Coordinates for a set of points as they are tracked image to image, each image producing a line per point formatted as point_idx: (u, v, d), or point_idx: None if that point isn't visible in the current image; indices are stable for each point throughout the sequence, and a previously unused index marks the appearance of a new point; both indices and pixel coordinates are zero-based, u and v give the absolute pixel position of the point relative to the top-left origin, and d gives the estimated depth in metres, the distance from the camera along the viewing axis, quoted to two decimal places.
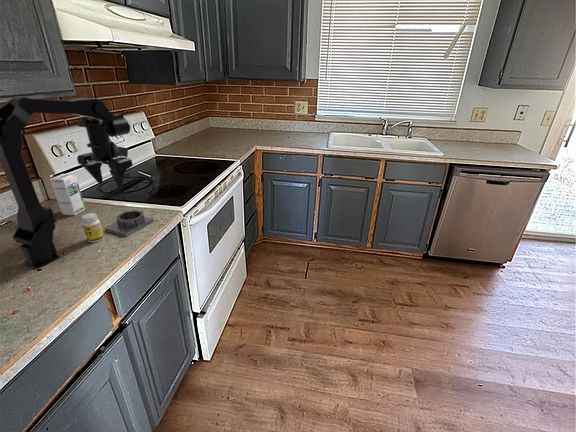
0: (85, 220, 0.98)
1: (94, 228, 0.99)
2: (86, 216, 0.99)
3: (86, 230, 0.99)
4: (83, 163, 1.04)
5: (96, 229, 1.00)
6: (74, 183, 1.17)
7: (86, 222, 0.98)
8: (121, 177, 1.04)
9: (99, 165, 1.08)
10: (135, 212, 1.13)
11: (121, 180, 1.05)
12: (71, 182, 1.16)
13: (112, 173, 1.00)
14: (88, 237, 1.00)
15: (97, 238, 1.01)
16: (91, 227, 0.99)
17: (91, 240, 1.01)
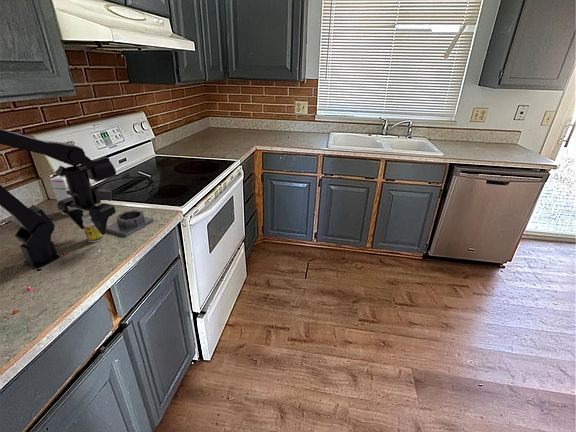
0: (85, 220, 0.98)
1: (94, 228, 0.99)
2: (86, 216, 0.99)
3: (86, 230, 0.99)
4: (63, 209, 0.98)
5: (96, 229, 1.00)
6: None
7: (86, 222, 0.98)
8: (104, 224, 0.98)
9: (81, 210, 1.02)
10: (135, 212, 1.13)
11: (104, 227, 0.99)
12: None
13: (94, 221, 0.95)
14: (88, 237, 1.00)
15: (97, 238, 1.01)
16: (91, 227, 0.99)
17: (91, 240, 1.01)
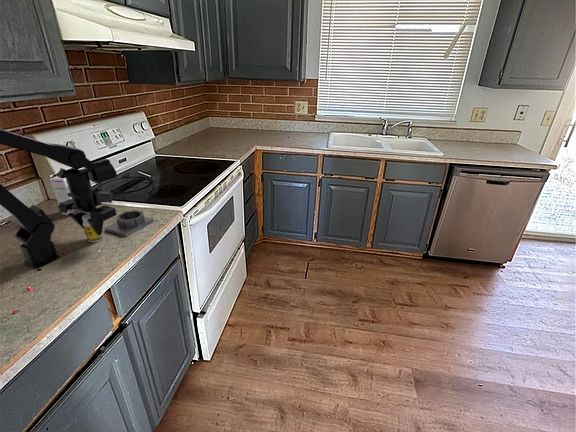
0: (85, 220, 0.98)
1: None
2: (86, 216, 0.99)
3: (86, 230, 0.99)
4: (64, 212, 0.98)
5: None
6: None
7: (86, 222, 0.98)
8: (100, 225, 0.99)
9: (86, 213, 1.02)
10: (135, 212, 1.13)
11: (100, 228, 1.00)
12: None
13: (90, 222, 0.96)
14: (88, 237, 1.00)
15: (97, 238, 1.01)
16: (91, 227, 0.99)
17: (91, 240, 1.01)
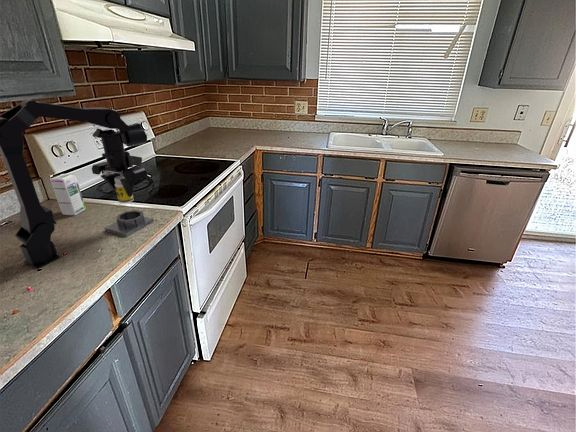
0: (117, 181, 1.03)
1: None
2: (118, 177, 1.04)
3: (118, 191, 1.04)
4: (98, 173, 1.03)
5: None
6: (74, 183, 1.17)
7: (118, 183, 1.03)
8: (131, 186, 1.04)
9: (117, 175, 1.06)
10: (135, 212, 1.13)
11: (131, 189, 1.05)
12: (71, 182, 1.16)
13: (123, 182, 1.00)
14: (119, 198, 1.05)
15: (128, 199, 1.06)
16: (123, 188, 1.03)
17: (122, 201, 1.05)
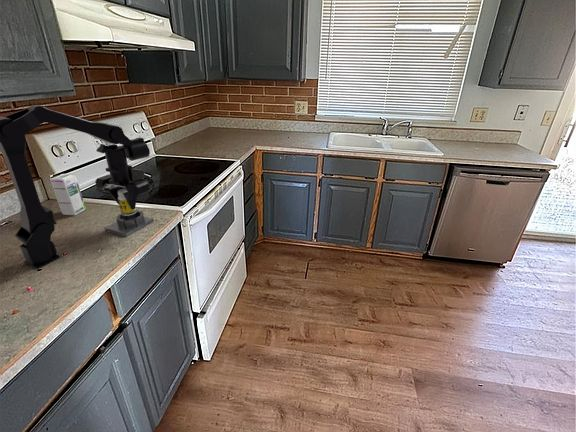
0: (121, 194, 1.05)
1: None
2: (121, 191, 1.06)
3: (121, 204, 1.06)
4: (101, 186, 1.05)
5: None
6: (74, 183, 1.17)
7: (121, 196, 1.05)
8: (134, 199, 1.06)
9: (121, 188, 1.08)
10: None
11: (134, 202, 1.07)
12: (71, 182, 1.16)
13: (126, 196, 1.02)
14: (123, 211, 1.07)
15: (131, 212, 1.08)
16: (126, 201, 1.05)
17: (125, 214, 1.07)
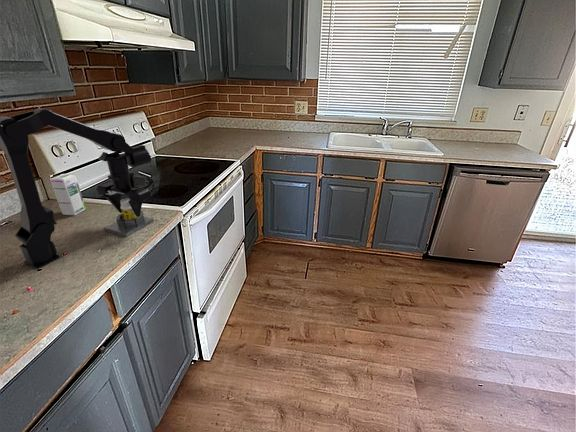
0: (123, 204, 1.06)
1: (131, 212, 1.08)
2: (124, 200, 1.07)
3: (124, 213, 1.07)
4: (103, 193, 1.06)
5: (132, 212, 1.08)
6: (74, 183, 1.17)
7: (124, 205, 1.06)
8: (139, 206, 1.07)
9: (119, 194, 1.10)
10: None
11: (139, 209, 1.07)
12: (71, 182, 1.16)
13: (131, 203, 1.03)
14: None
15: None
16: (128, 210, 1.07)
17: None
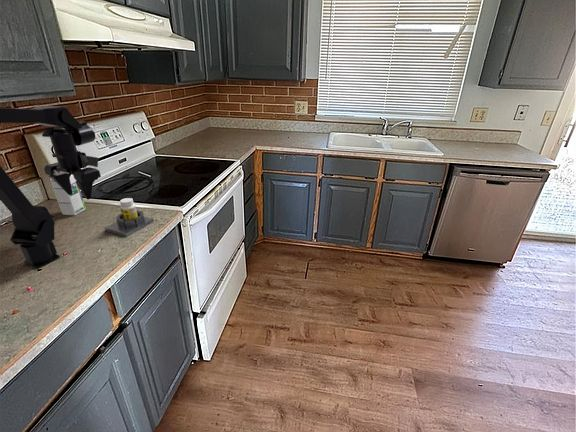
0: (123, 204, 1.06)
1: (131, 212, 1.08)
2: (123, 200, 1.07)
3: (124, 213, 1.07)
4: (50, 173, 0.99)
5: (132, 212, 1.08)
6: (74, 183, 1.17)
7: (124, 205, 1.06)
8: (89, 188, 0.99)
9: (68, 175, 1.03)
10: None
11: (89, 191, 1.00)
12: (71, 182, 1.16)
13: (78, 184, 0.96)
14: None
15: None
16: (128, 210, 1.07)
17: None
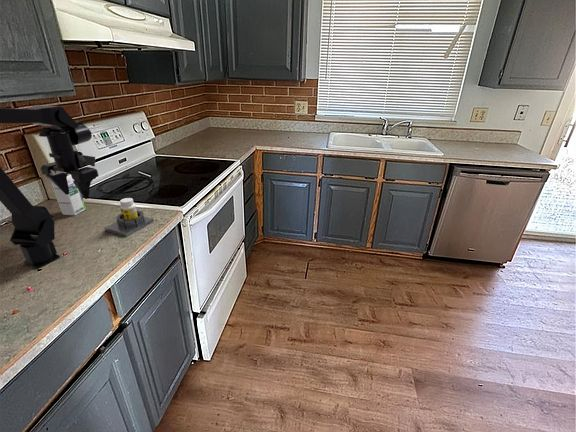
0: (123, 204, 1.06)
1: (131, 212, 1.08)
2: (123, 200, 1.07)
3: (124, 213, 1.07)
4: (47, 173, 0.99)
5: (132, 212, 1.08)
6: None
7: (124, 205, 1.06)
8: (87, 188, 0.99)
9: (65, 175, 1.03)
10: None
11: (87, 191, 1.00)
12: (71, 182, 1.16)
13: (76, 184, 0.96)
14: None
15: None
16: (128, 210, 1.07)
17: None
